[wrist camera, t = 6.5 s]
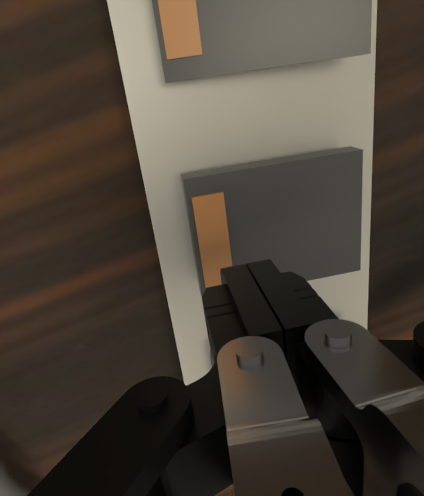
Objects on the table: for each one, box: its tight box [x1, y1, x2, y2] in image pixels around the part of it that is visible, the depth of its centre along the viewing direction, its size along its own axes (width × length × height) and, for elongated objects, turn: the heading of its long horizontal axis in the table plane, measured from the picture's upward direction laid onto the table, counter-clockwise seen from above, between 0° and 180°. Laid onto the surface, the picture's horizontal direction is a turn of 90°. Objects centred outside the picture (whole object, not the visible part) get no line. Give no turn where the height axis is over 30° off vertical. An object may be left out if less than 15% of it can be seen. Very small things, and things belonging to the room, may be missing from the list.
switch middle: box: [181, 146, 363, 297], centre depth 16 cm, size 5×7×1 cm
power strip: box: [107, 0, 377, 386], centre depth 18 cm, size 30×10×3 cm, turn 8°
